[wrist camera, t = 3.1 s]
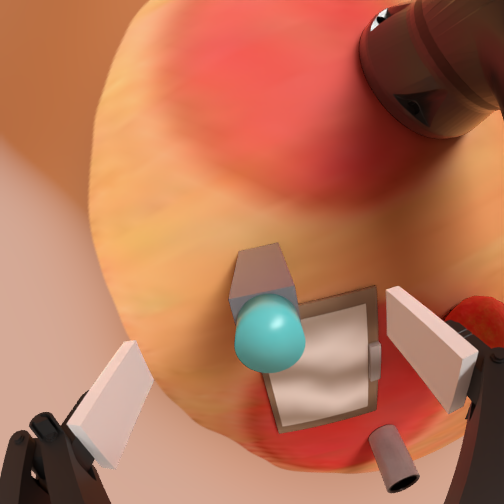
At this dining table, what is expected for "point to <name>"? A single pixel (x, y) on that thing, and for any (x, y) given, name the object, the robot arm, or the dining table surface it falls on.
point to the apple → (481, 319)
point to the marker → (265, 311)
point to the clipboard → (330, 364)
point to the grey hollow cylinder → (393, 459)
